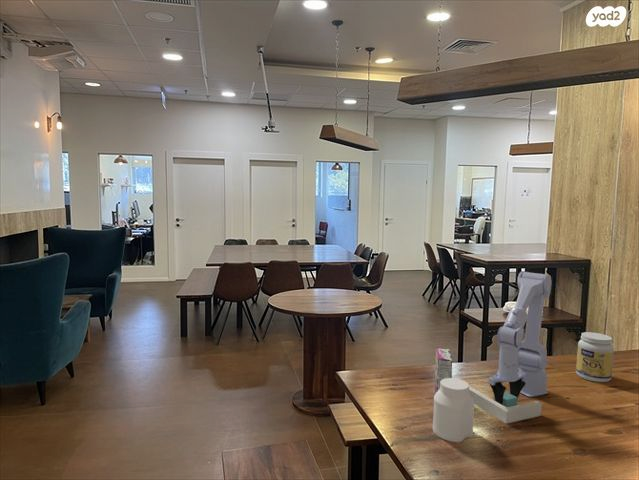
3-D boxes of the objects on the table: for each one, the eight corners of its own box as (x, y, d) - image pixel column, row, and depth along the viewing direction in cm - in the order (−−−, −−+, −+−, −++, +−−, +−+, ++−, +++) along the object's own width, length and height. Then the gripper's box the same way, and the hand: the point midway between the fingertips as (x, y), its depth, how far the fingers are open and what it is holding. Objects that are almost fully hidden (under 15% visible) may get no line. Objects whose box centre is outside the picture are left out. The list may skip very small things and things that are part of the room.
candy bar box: (433, 391, 157) (435, 347, 156) (448, 393, 156) (449, 348, 155) (435, 405, 146) (437, 358, 145) (451, 407, 145) (453, 359, 144)
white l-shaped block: (495, 390, 159) (495, 379, 159) (541, 415, 141) (541, 403, 140) (462, 396, 153) (462, 385, 153) (505, 423, 135) (506, 411, 135)
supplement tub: (575, 378, 171) (578, 337, 170) (576, 368, 181) (578, 329, 180) (612, 386, 165) (615, 342, 163) (611, 375, 175) (614, 334, 174)
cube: (504, 405, 148) (505, 391, 147) (516, 412, 143) (517, 397, 143) (493, 407, 146) (494, 393, 145) (505, 414, 141) (505, 399, 141)
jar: (454, 445, 122) (456, 394, 121) (427, 431, 130) (429, 382, 129) (477, 432, 129) (480, 384, 128) (450, 419, 137) (452, 373, 136)
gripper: (515, 356, 149) (513, 394, 150) (482, 361, 144) (480, 400, 145) (532, 363, 143) (529, 402, 144) (498, 368, 137) (496, 410, 138)
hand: (506, 402), depth 144 cm, fingers open, 6 cm apart
